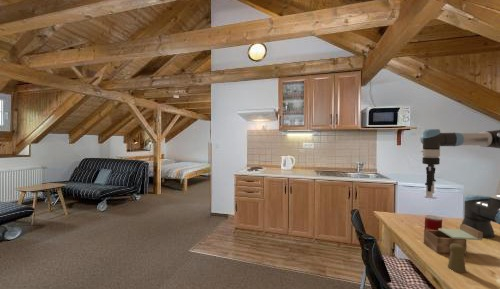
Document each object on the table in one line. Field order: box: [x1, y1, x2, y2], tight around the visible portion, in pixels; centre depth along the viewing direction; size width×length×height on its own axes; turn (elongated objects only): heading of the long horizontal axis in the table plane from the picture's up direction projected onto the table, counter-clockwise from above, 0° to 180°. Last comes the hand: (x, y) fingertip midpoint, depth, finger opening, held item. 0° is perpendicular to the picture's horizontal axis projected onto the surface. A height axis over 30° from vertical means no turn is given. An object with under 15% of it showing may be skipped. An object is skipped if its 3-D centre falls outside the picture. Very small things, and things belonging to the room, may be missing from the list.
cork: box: [447, 243, 467, 274], centre depth 102 cm, size 6×6×11 cm
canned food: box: [424, 214, 443, 230], centre depth 138 cm, size 8×8×11 cm
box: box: [423, 229, 467, 256], centre depth 121 cm, size 13×11×8 cm
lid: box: [438, 223, 484, 241], centre depth 120 cm, size 13×11×4 cm
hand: (430, 195), depth 130 cm, fingers open, 13 cm apart
